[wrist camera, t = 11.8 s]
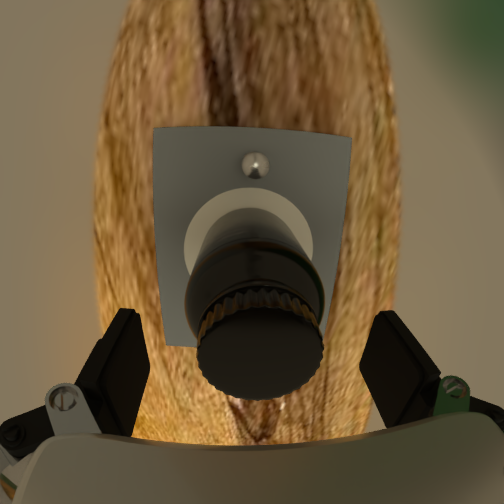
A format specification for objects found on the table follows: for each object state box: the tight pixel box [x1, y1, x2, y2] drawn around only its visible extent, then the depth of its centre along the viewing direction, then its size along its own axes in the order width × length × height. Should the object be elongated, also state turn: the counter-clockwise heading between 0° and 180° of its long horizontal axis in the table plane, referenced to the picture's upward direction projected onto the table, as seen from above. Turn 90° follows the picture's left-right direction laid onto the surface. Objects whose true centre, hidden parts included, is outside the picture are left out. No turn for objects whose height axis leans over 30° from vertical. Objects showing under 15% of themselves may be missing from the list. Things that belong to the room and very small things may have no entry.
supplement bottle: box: [184, 208, 325, 401], centre depth 16 cm, size 7×7×12 cm
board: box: [153, 126, 352, 347], centre depth 21 cm, size 18×14×4 cm
